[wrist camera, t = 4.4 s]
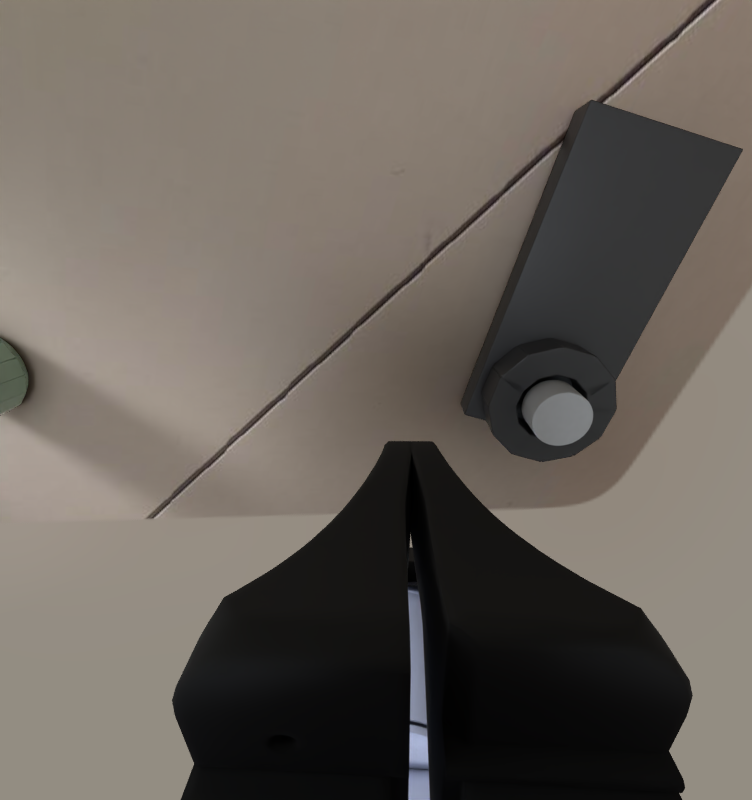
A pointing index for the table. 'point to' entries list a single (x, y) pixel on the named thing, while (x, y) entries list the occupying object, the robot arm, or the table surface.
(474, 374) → the scale
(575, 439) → the button
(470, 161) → the table surface
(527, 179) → the table surface
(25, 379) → the green faceted cup
